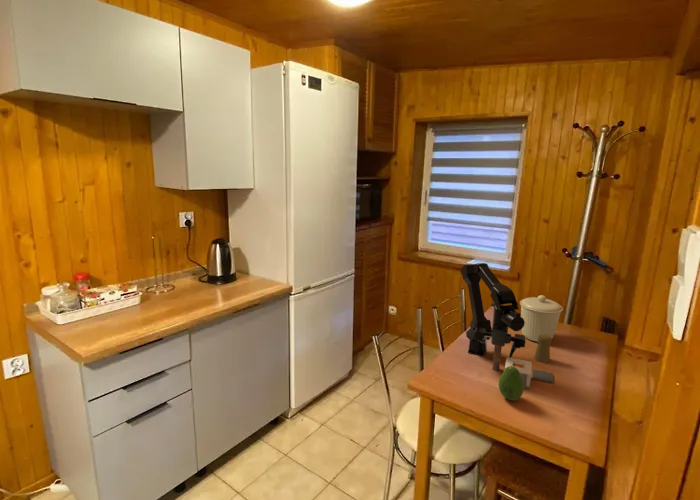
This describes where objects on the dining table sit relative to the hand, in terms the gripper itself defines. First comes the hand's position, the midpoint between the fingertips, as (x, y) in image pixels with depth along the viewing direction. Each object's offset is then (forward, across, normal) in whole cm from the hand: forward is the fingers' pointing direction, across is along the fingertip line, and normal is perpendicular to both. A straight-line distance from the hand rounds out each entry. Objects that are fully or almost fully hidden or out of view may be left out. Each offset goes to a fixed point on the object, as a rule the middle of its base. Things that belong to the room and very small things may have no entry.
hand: (497, 356), depth 155 cm
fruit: (+6, +6, -19) cm, 21 cm away
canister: (+6, +15, +39) cm, 42 cm away
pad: (+6, +17, +2) cm, 18 cm away
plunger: (+2, +8, -5) cm, 10 cm away
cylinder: (+5, 0, 0) cm, 5 cm away
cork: (+6, +17, +16) cm, 24 cm away
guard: (+6, +8, -5) cm, 11 cm away
